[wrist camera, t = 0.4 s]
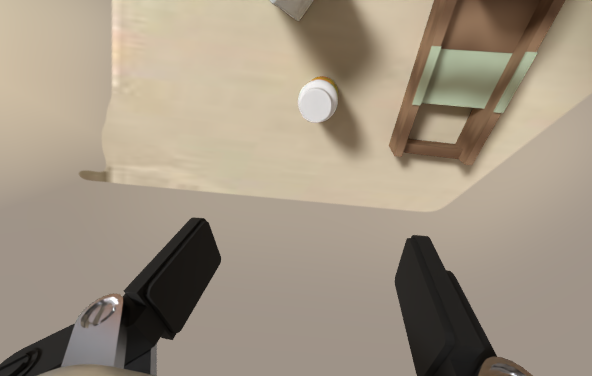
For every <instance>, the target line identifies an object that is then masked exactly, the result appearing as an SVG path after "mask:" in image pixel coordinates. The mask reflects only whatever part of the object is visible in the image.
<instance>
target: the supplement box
mask: <svg viewBox="0 0 592 376" xmlns="http://www.w3.org/2000/svg"><path fill="white" fill-rule="evenodd" d="M313 1H314V0H270V2H271V3H272V4H274V5H276V6H278V7H279V8H280V9H282V10H283V11H284V12H286V13H287V14H288V15H289V16H291V17H292V18H294V19H295V20H297V21H300V19H301V18H302V16H303V15H304V14H305V12H306V11H307V9H308V8H309V6H310V5H311V4H312V2H313Z"/></svg>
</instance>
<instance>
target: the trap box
mask: <svg viewBox="0 0 592 376" xmlns="http://www.w3.org/2000/svg"><path fill="white" fill-rule="evenodd" d="M564 2H565V0H434V3H433V6H432V9H431V12H430V16H429V19H428V22H427V25H426V28H425V32H424V35H423V38H422V41H421V44H420V48H419V51H418V54H417V57H416V60H415V64H414V67H413V70H412V73H411V76H410V80H409V83H408V86H407V89H406V92H405V96H404V99H403V102H402V105H401V108H400V112H399V115H398V118H397V121H396V124H395V128H394V131H393V134H392V137H391V141H390V144H389V147H390V148H391V150H392V152H393V154H394V156H400V157H401V156H402V153H403V152H404V153H413V154H421V155H430V156H438V157H446V158H455V159H459V160H460V161H461V162H463V163H464V164H466V165H472V164H473V163H474V161H475V159H476V157H477V155H478V154H479V152H480V150H481V148H482V147H483V145H484V143H485V141H486V140H487V138H488V136H489V134H490V132H491V131H492V129H493V127H494V125H495V124H496V122H497V120H498V118H499V117H500V115H501V113H504V111H505V109H506V107H507V106H508V104H509V102H510V100H511V99H512V97H513V95H514V93H515V92H516V90H517V88H518V86H519V85H520V83H521V81H522V79H523V78H524V76H525V74H526V72H527V71H528V69H529V67H530V65H531V64H532V62H533V60H534V58H535V57H536V55H537V53H538V52H536V51H537V49H538V48H539V46H540V44H541V42H542V41H543V39H544V37H545V35H546V34H547V32H548V30H549V28H550V26H551V25H552V23H553V21H554V19H555V18H556V16H557V14H558V12H559V11H560V9H561V7H562V5H563V3H564ZM421 103H428V104H439V105H450V106H461V107H472V108H473V109H472V111H471V113H470V116H469V118H468V120H467V122H466V124H465V126H464V128H463V130H462V132H461V134H460V136H459V138H458V140H457V142H456V144H449V143H440V142H431V141H422V140H413V139H408V137H409V134H410V131H411V128H412V125H413V123H414V120H415V117H416V114H417V111H418V109H419V106H420V105H421Z"/></svg>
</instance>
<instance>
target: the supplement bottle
mask: <svg viewBox="0 0 592 376" xmlns="http://www.w3.org/2000/svg"><path fill="white" fill-rule="evenodd" d="M337 105H338V88H337V86H336V84H335V82H334V81H333V80H332V79H330V78H328V77H324V76H320V77H316V78H314V79H313V80H311V81H310V82H308V83H307V84H306V85H305V86H304V87H303V88H302V90H301V91H300V94H299V97H298V107H299V110H300V112H301V114H302V116H303V117H304V118H305V119H306V120H307V121H309V122H313V123H319V122H324V121H326V120H328V119H329V118H330V117H331V116H332V115H333V114H334V112H335V111H336V108H337Z"/></svg>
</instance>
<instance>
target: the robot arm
mask: <svg viewBox="0 0 592 376" xmlns="http://www.w3.org/2000/svg"><path fill="white" fill-rule="evenodd" d="M220 262H221V256H220V253H219V250H218V248H217V245H216V242H215V240H214V237H213V234H212V231H211V228H210V225H209V223H208V222H207V221H206V220H205V219H204V218H191V219H190V220H189V221H188V222H187V223H186V224H185V225H184V226H183V227H182V229H181V230H180V231H179V232H178V233H177V234H176V235H175V236H174V237H173V238H172V239H171V240H170V242H169V243H168V244H167V245H166V246H165V247H164V248H163V249H162V250H161V251H160V252H159V253H158V254H157V256H156V257H155V258H154V259H153V260H152V261H151V262H150V263H149V264H148V265H147V266H146V267H145V268H144V269H143V271H142V272H141V273H140V274H139V275H138V276H137V277H136V278H135V279H134V280H133V281H132V282H131V283H130V284H129V286H128V287H127V288H126V289H125V290H124V292H125V295H124V296H123V297H122V296H121V295H120V294H109V295H106V296H103V297H101V298H99V299H97V300H96V301H94V302H93V303H91V304H90V305H89V306H88V307H86V308H85V309H84V310H83V311H82V313H81V314H80V315H79V316H78V319H77V320H76V322H75V324H73V325H71V326H69V327H66V328H64V329H62V330H61V331H58V332H56V333H54V334H52V335H50V336H48V337H46V338H44V339H42V340H40V341H38V342H36V343H34V344H31V345H30V346H27V347H25V348H23V349H21V350H20V351H18V352H16V353H14V354H13V355H12V356H10V357H9V358H7V359H6V360H5V361H4V362H2V363H1V364H0V376H157V375H156V374H157V372H156V369H157V368H156V367H157V364H156V363H157V342H158V340H159V339H160V337H162V338H165V339H170V340H173V338H174V337H175V335H176V333H178V332H180V331H181V329H182V328H183V326H184V325H185V323H186V321H187V319H188V318H189V316H190V314H191V313H192V311H193V309H194V307H195V306H196V304H197V302H198V301H199V299H200V297H201V295H202V293H203V292H204V290H205V288H206V287H207V285H208V283H209V282H210V280H211V278H212V277H213V275H214V273H215V271H216V270H217V268H218V266H219V265H220ZM395 286H396V290H397V295H398V299H399V303H400V307H401V312H402V316H403V320H404V324H405V328H406V332H407V336H408V341H409V345H410V349H411V353H412V357H413V362H414V366H415V370H416V374H417V376H533V375H531V374H530V373H529V372H528V371H527V370H525V369H524V368H523V367H521V366H519V365H517V364H516V363H514V362H513V361H510V360H508V359H505V358H502V357H497V356H496V354H495V352H494V350H493V348H492V346H491V344H490V342H489V340H488V338H487V336H486V334H485V332H484V331H483V329H482V327H481V325H480V323H479V321H478V319H477V317H476V316H475V314H474V312H473V310H472V308H471V306H470V304H469V302H468V300H467V298H466V296H465V294H464V293H463V290H462V289H461V287H460V285H459V283H458V281H457V279H456V277H455V276H454V274H453V273H452V272H451V271H447V270H445V268H444V266H443V264H442V262H441V260H440V258H439V256H438V254H437V252H436V250H435V248H434V246H433V244H432V241H431V239H430V238H429V237H428V236H417V235H413V236H412V237H411V238H407V240H406V243H405V246H404V250H403V253H402V256H401V260H400V263H399V266H398V270H397V273H396V276H395Z"/></svg>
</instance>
